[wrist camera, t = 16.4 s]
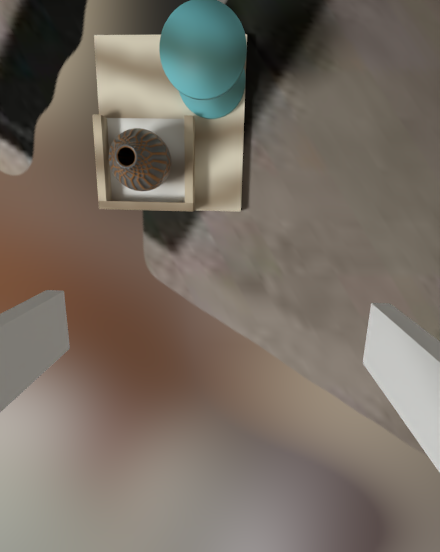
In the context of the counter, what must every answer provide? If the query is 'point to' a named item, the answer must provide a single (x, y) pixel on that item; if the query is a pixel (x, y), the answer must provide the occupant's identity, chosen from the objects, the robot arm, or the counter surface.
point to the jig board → (176, 107)
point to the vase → (140, 159)
